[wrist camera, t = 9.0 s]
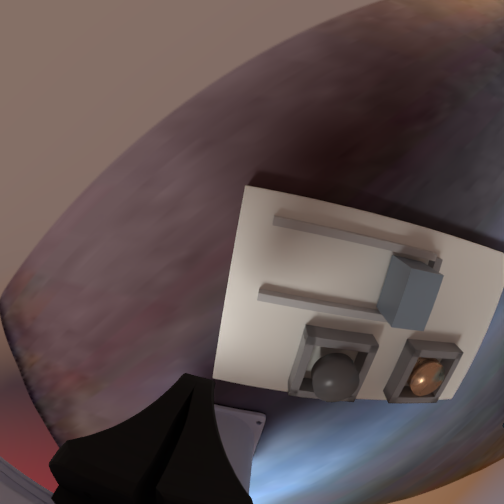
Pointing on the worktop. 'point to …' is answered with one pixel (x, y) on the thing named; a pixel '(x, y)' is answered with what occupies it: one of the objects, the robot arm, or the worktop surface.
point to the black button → (334, 377)
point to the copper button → (426, 376)
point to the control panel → (345, 298)
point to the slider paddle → (409, 293)
